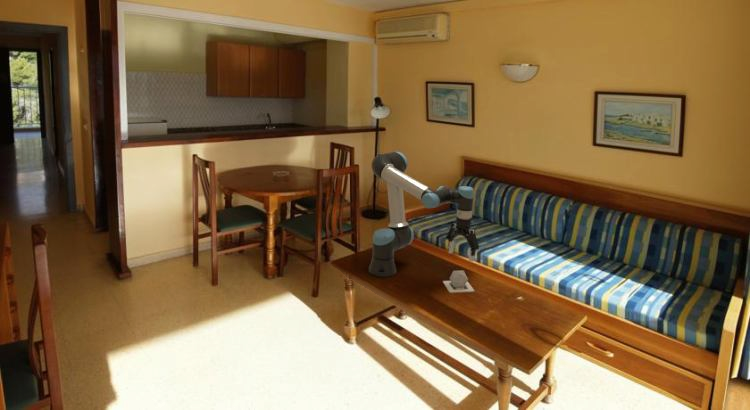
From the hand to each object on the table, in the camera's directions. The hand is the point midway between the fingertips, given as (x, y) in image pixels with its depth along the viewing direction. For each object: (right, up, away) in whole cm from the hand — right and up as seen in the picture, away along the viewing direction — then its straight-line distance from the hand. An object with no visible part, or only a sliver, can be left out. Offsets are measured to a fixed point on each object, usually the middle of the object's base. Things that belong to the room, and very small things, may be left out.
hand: (460, 257), depth 250 cm
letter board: (-1, -16, +5) cm, 17 cm away
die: (-1, -16, +4) cm, 16 cm away
